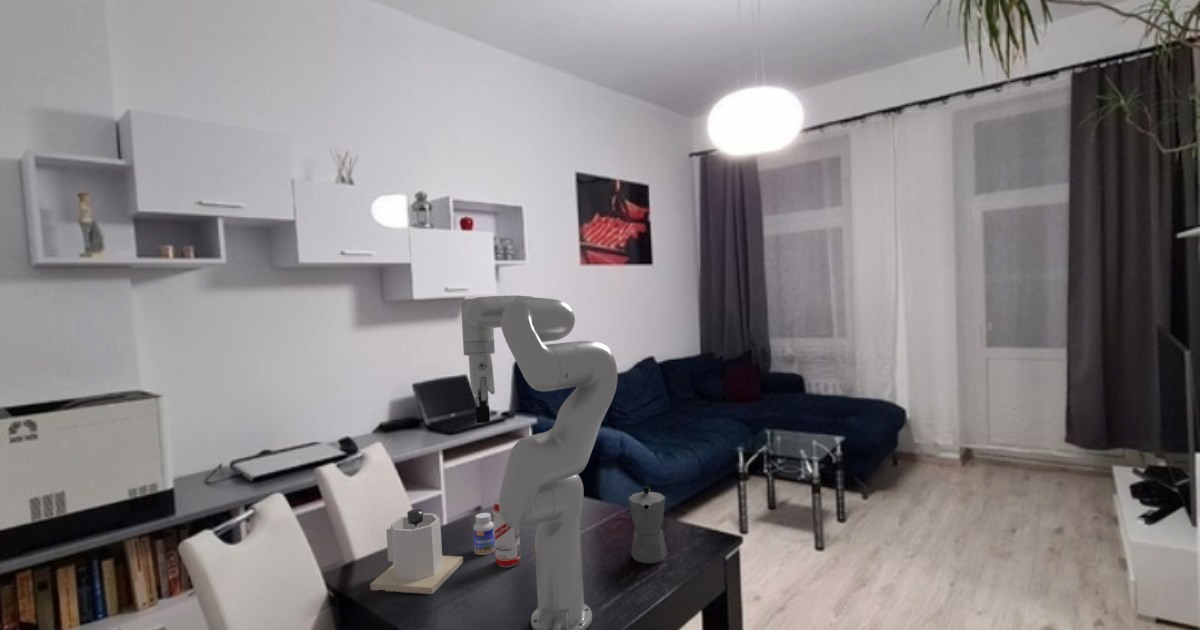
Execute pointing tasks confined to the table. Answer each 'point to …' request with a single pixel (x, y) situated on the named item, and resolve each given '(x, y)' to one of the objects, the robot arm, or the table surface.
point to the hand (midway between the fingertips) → (483, 421)
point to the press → (416, 558)
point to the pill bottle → (484, 534)
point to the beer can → (505, 541)
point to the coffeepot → (648, 526)
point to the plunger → (415, 517)
